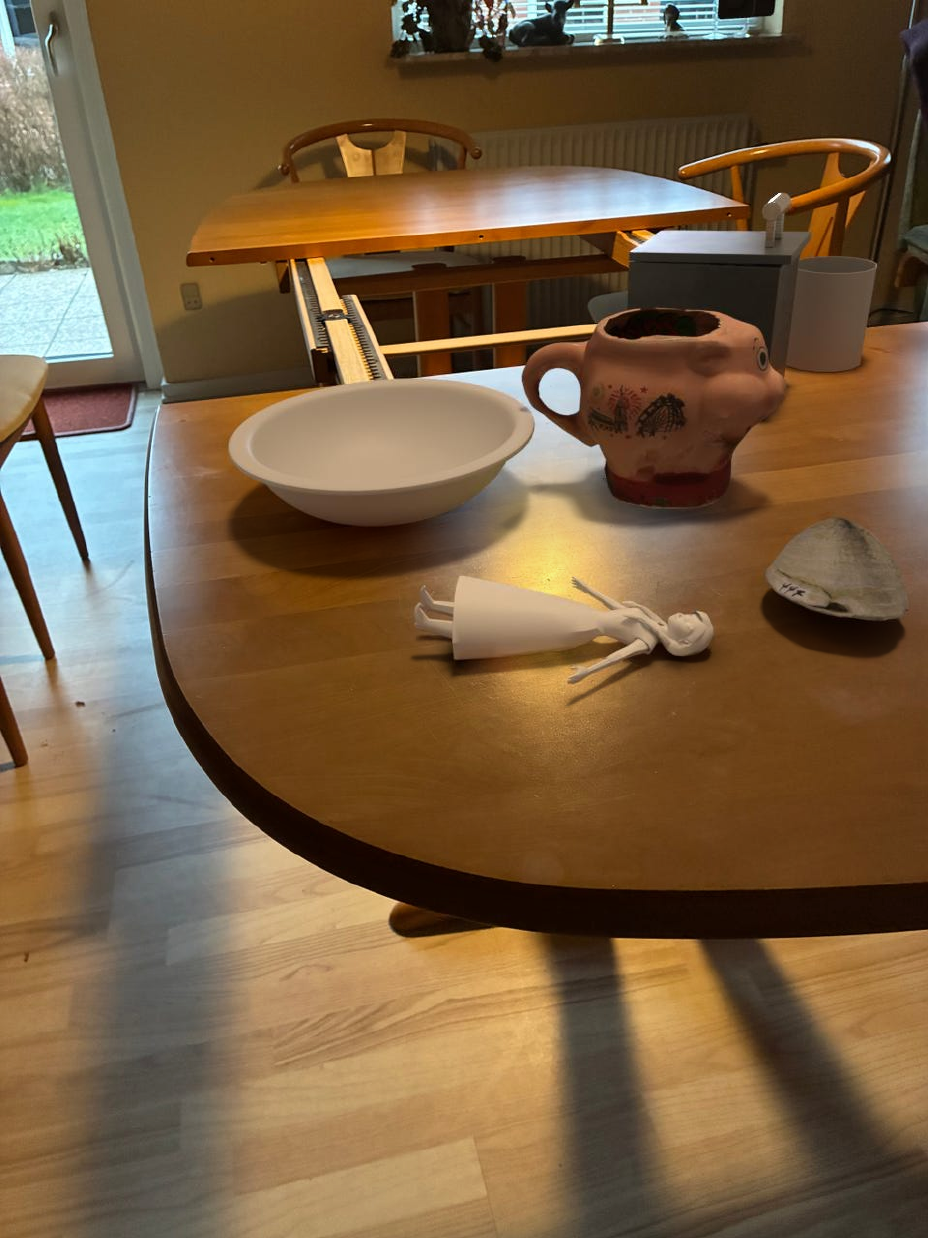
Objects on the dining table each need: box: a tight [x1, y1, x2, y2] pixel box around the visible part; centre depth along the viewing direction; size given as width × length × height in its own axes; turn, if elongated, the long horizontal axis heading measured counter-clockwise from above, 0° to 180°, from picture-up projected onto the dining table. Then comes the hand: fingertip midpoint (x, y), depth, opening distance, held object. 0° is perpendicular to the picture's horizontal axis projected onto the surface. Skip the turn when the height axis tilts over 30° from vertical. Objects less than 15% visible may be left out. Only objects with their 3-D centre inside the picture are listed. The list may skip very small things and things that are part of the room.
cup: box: [786, 255, 878, 373], centre depth 101 cm, size 8×8×10 cm
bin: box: [626, 253, 801, 379], centre depth 92 cm, size 14×11×14 cm
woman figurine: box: [413, 574, 715, 685], centre depth 58 cm, size 12×4×18 cm
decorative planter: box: [521, 308, 787, 510], centre depth 74 cm, size 20×12×14 cm, turn 81°
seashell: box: [764, 517, 911, 622], centre depth 60 cm, size 12×8×5 cm
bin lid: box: [628, 192, 812, 265], centre depth 87 cm, size 14×11×5 cm
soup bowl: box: [228, 378, 536, 527], centre depth 76 cm, size 24×24×7 cm
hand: (746, 17), depth 90 cm, fingers open, 9 cm apart
